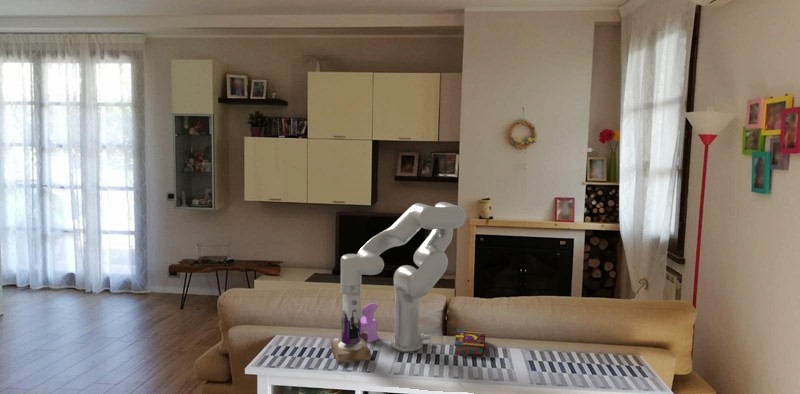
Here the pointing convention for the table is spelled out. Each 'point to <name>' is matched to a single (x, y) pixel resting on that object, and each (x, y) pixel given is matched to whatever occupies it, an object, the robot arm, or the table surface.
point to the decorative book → (470, 343)
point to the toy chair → (369, 322)
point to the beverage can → (345, 331)
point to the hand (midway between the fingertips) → (350, 334)
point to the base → (350, 351)
